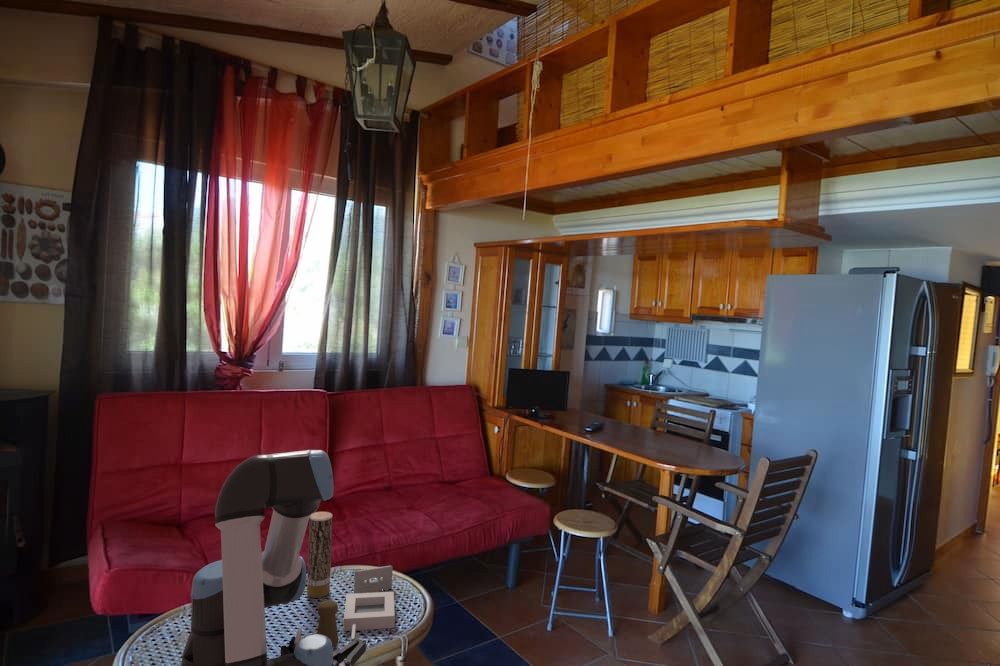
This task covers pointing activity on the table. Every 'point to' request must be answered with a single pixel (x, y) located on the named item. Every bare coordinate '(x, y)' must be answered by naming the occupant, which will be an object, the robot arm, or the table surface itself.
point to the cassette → (373, 585)
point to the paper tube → (319, 554)
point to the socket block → (369, 611)
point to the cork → (328, 620)
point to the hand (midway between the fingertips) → (327, 630)
